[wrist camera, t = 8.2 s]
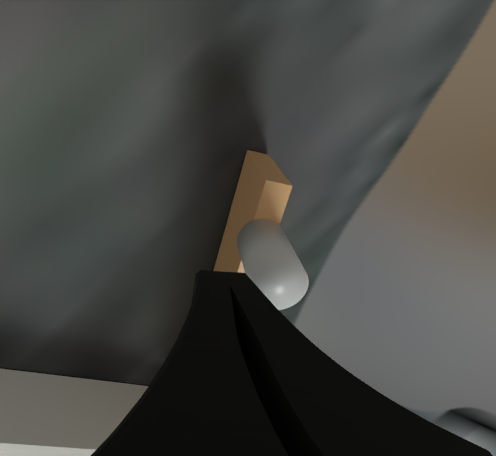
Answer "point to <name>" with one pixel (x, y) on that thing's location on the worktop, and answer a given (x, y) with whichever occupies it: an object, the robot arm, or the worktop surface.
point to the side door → (262, 234)
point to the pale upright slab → (60, 413)
